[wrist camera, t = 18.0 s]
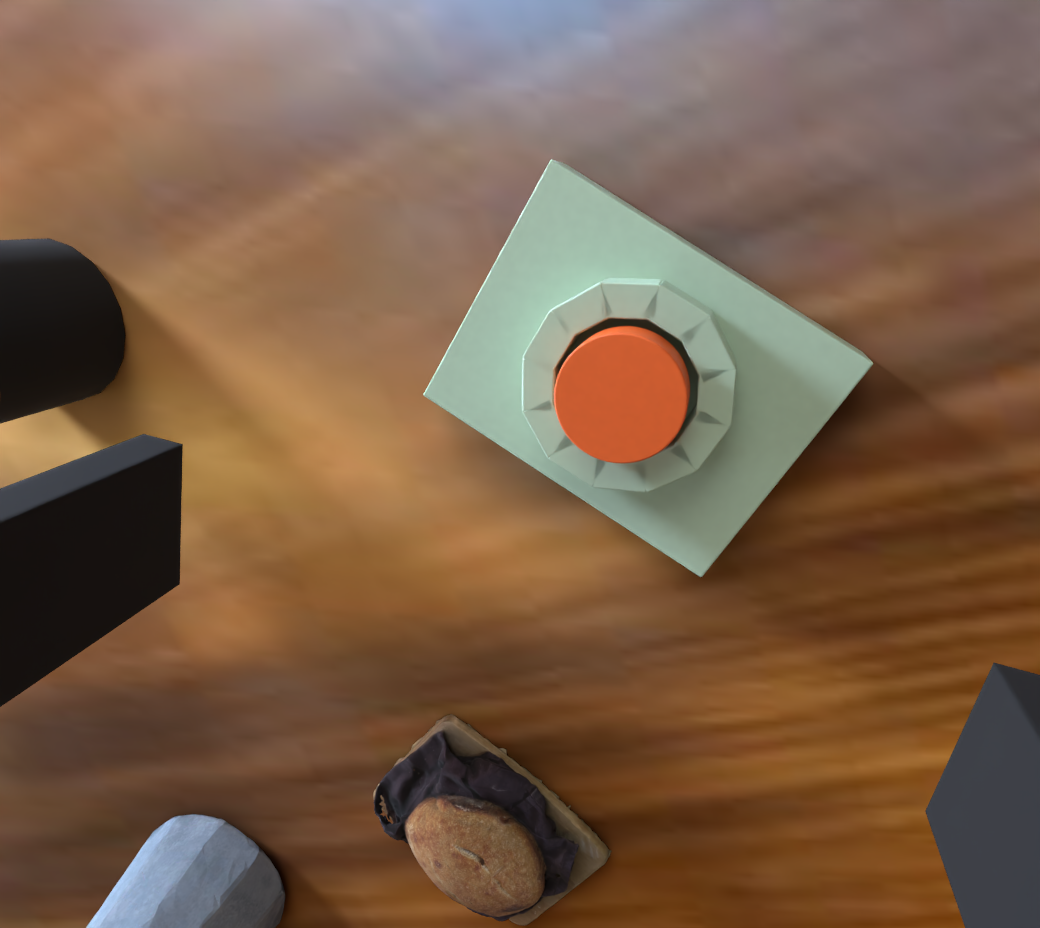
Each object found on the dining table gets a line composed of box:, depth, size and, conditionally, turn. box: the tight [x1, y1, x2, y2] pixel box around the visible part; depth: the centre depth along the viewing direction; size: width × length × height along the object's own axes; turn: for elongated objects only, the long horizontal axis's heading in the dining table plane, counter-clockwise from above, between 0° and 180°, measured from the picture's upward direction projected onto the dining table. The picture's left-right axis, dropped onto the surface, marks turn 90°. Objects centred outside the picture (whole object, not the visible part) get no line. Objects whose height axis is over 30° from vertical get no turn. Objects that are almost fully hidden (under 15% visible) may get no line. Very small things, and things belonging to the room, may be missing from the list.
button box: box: [424, 160, 873, 577], centre depth 28 cm, size 13×10×4 cm
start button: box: [554, 326, 690, 463], centre depth 26 cm, size 4×4×2 cm
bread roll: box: [373, 714, 611, 926], centre depth 37 cm, size 11×8×4 cm
